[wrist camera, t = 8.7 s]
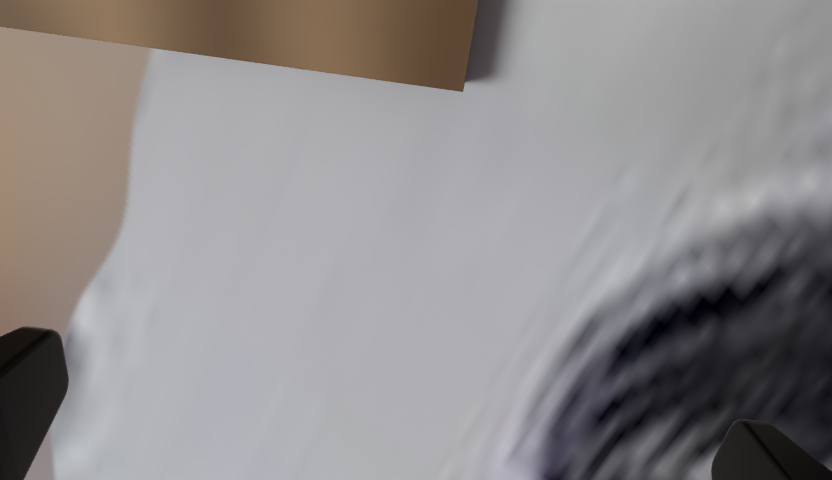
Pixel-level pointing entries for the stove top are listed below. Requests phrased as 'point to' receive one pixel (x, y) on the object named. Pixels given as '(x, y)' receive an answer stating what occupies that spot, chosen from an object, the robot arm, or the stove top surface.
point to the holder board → (279, 32)
